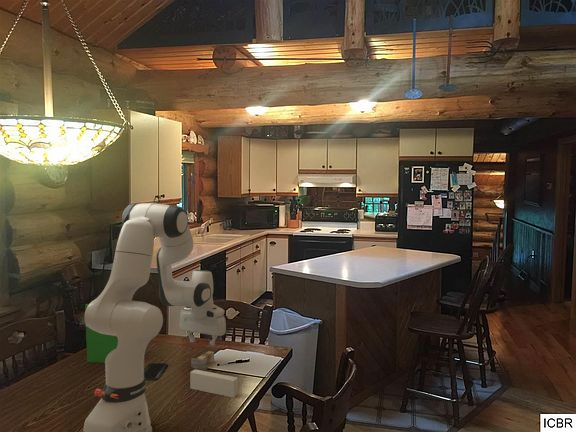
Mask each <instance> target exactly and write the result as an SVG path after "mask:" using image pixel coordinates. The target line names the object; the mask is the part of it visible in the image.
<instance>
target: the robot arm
mask: <svg viewBox="0 0 576 432" xmlns="http://www.w3.org/2000/svg"><path fill="white" fill-rule="evenodd" d="M121 225H122V227H121V229H120V232H119V235H118V239H117V242H116V247H115V252H114V257H113V262H112V266H111V271H110V276H109V278H108V281H107V282H106V285H105V287H104V289H103V290H102V292H101V293H100V294H99V295H98V296H97V297H96V298H95V299H94V300H92V301H91V302H89V303H88V304H89V305H88V307H87V308H86V311H85V310H84V311H85V312H84V323H85V326H86V325H87V326H88V328H90V329H92V330H94V331H96V332H98V333H101V334H106V335H112V336H117V337H118V345H117V348H116V349H114V350H113V351H111V352H110V353H109V354H108V355H107V357H106V360H105V362H104V365H105V366H104V367H105V382H104V385H103V389H100V388H96V389H95V391H94V395H95V396H96V397H100V400H99V401H98V402H97V403H96V405H95V406H94V408H93V409H92V410H91V412H90V413H89V415H88V416H87V417H86V418H85V421H84V424H83V432H153V427H152V425H151V424H152V421H151V418H150V414H149V409H148V408H149V407H148V401H147V397H146V391H147V382H146V380H147V379H145V377H144V369H145V355H146V351H147V347H148V345H149V343H150V342H151V341H152V340H153V339H154V338H155V337H156V336H158V334H159V333H160V331H161V329H162V327H163V323H164V317H163V314H162V311H161V309H160V308H159V307H157V306H156V305H153V304H150V303H148V302H145V301H137V300H133V297H134V295H135V293H136V292H137V291H138V290H139V288H141V287H144V286H145V285H146V284H147V283H148V281H149V279H150V275H151V267H152V261H153V255H154V245H155V244H154V243H155V238H159V242H160V246H161V247H160V248H159V249H158V250H157V252H156V270H157V276H158V279H157V280H158V285H159V286H158V287H159V288H158V297H159V300H160V301H161V303H162V304H163V305H164V306H166V307H183V308H181V310H180V317H179V330H180V331H184V332H186V333H187V334H186V335H188V339H189V343H192V344H193V343H196V337H195V336H194V334H193V333H197V334H202V335H209V336H211V338H212V340H209V346H210V347H211V346H212V347H213V346H216V340H217V339H218V337H221V336H224V335H225V333H227V325H226V324H227V322H226V318H225V316H224V314H225V310H224V308H222V307H220V306H218V305H216V304H214V298H213V294H214V278H213V274H212V271H210V270H207V269H204V270H203V269H194V270H193V271H192V275H191V279H190V280H177V279H175V278H174V277H173V270H172V265H174V264H176V263H179V262H182V261H184V260H185V259H187V258H188V257H189V256H190V254H192V252H193V250H194V240H193V236H192V231H191V228H190V226H189V217H188V213H187V212H186V210H185V208H183V207H181V206H178V205H176V204H175V205H174V204H170V205H169V204H164V203H157V202H142V203H141V202H135V203H134V202H133V203H130V204H128V205H127V206H126V207H125V208H124V210H123V212H122V215H121Z"/></svg>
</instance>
